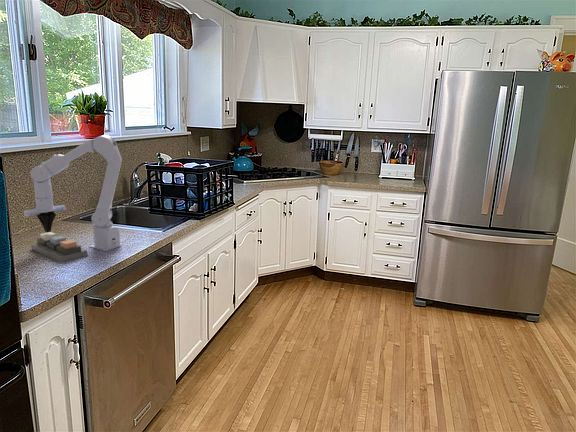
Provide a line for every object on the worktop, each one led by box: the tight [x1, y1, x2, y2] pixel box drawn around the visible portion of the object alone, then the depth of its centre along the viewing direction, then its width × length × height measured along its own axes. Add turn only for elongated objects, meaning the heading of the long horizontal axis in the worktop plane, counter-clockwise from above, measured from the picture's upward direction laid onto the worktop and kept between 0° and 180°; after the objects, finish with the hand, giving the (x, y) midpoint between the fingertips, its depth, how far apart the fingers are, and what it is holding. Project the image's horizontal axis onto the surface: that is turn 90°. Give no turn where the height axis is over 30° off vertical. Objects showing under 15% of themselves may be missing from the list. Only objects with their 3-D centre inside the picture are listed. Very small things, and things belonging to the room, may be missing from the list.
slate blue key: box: [50, 235, 67, 245], centre depth 158 cm, size 4×4×2 cm
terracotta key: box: [60, 239, 78, 249], centre depth 154 cm, size 4×4×2 cm
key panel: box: [30, 237, 88, 263], centre depth 159 cm, size 22×10×4 cm, turn 54°
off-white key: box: [39, 231, 57, 241], centre depth 163 cm, size 4×4×2 cm
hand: (47, 231), depth 162 cm, fingers closed
